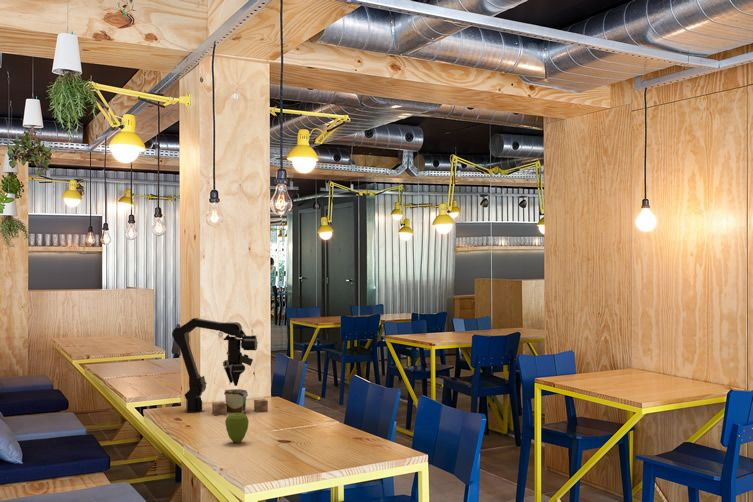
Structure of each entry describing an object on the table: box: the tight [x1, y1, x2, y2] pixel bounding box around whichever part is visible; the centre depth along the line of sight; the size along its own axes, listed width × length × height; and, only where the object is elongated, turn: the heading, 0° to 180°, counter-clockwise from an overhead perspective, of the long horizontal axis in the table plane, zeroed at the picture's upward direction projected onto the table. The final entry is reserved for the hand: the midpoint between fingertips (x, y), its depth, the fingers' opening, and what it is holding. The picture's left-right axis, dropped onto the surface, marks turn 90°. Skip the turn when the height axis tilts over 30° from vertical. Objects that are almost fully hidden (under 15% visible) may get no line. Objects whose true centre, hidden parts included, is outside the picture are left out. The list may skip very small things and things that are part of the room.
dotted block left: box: [211, 401, 227, 417], centre depth 321 cm, size 5×5×5 cm
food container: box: [223, 388, 249, 415], centre depth 325 cm, size 12×6×10 cm, turn 58°
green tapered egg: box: [224, 413, 250, 444], centre depth 268 cm, size 9×8×12 cm
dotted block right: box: [253, 398, 269, 413], centre depth 328 cm, size 5×5×5 cm
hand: (233, 384), depth 328 cm, fingers open, 9 cm apart
